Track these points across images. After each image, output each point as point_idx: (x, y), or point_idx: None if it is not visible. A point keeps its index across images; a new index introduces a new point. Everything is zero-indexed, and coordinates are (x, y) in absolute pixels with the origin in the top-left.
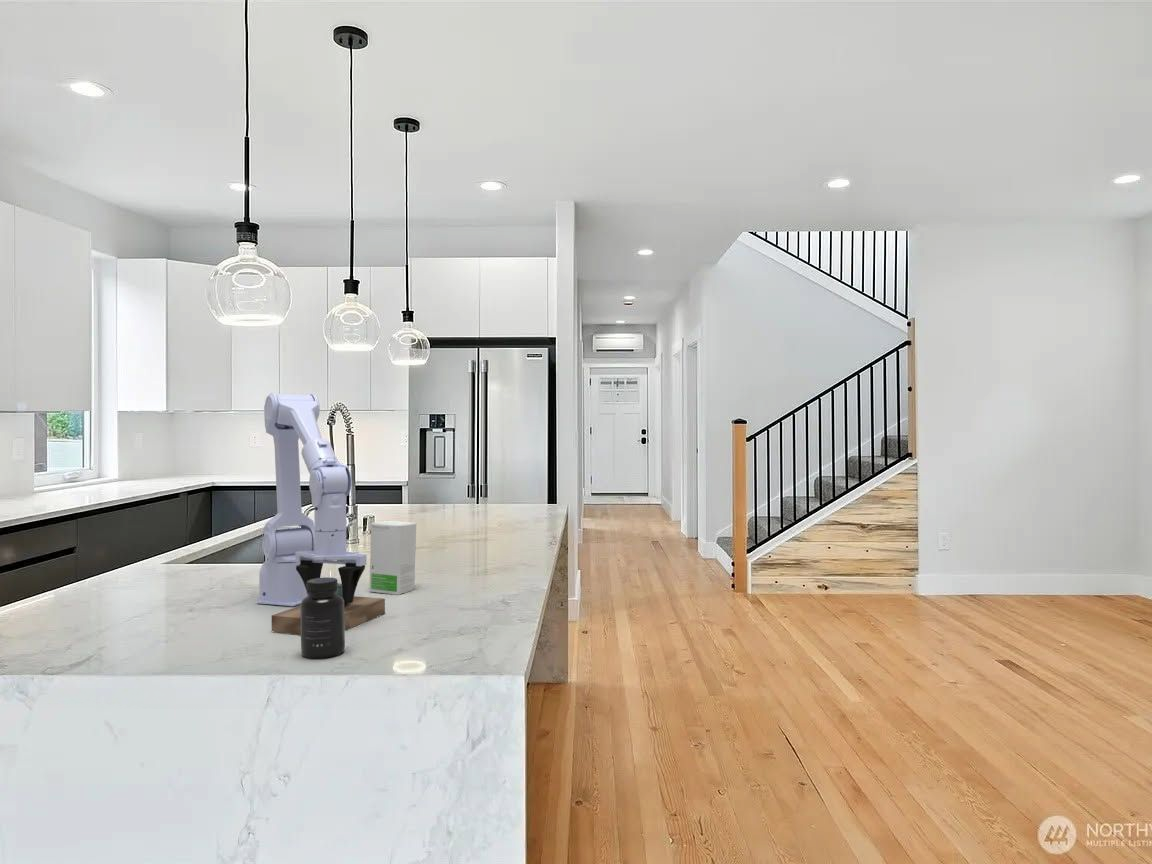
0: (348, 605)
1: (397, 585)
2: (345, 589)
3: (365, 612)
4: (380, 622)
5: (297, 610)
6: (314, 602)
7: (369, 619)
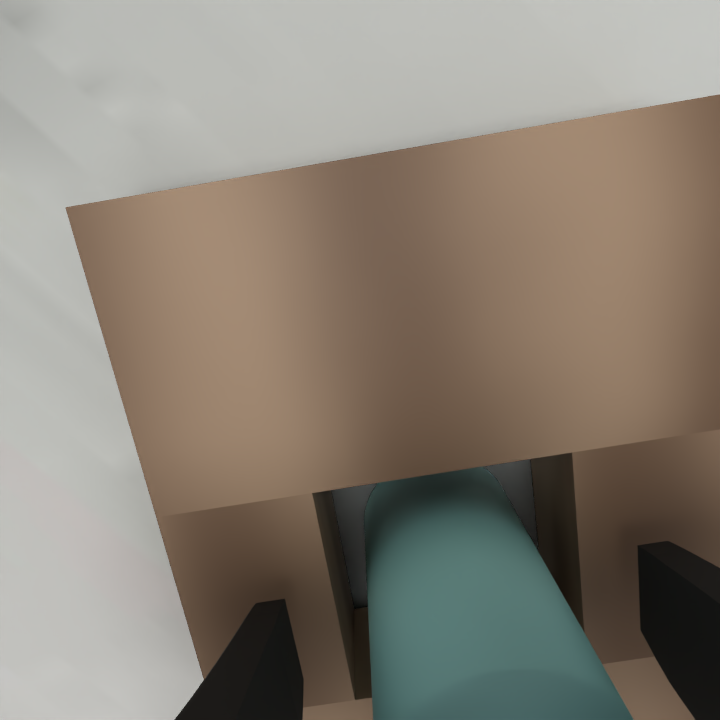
0: None
1: None
2: (189, 713)
3: None
4: (149, 648)
5: (635, 361)
6: None
7: None
